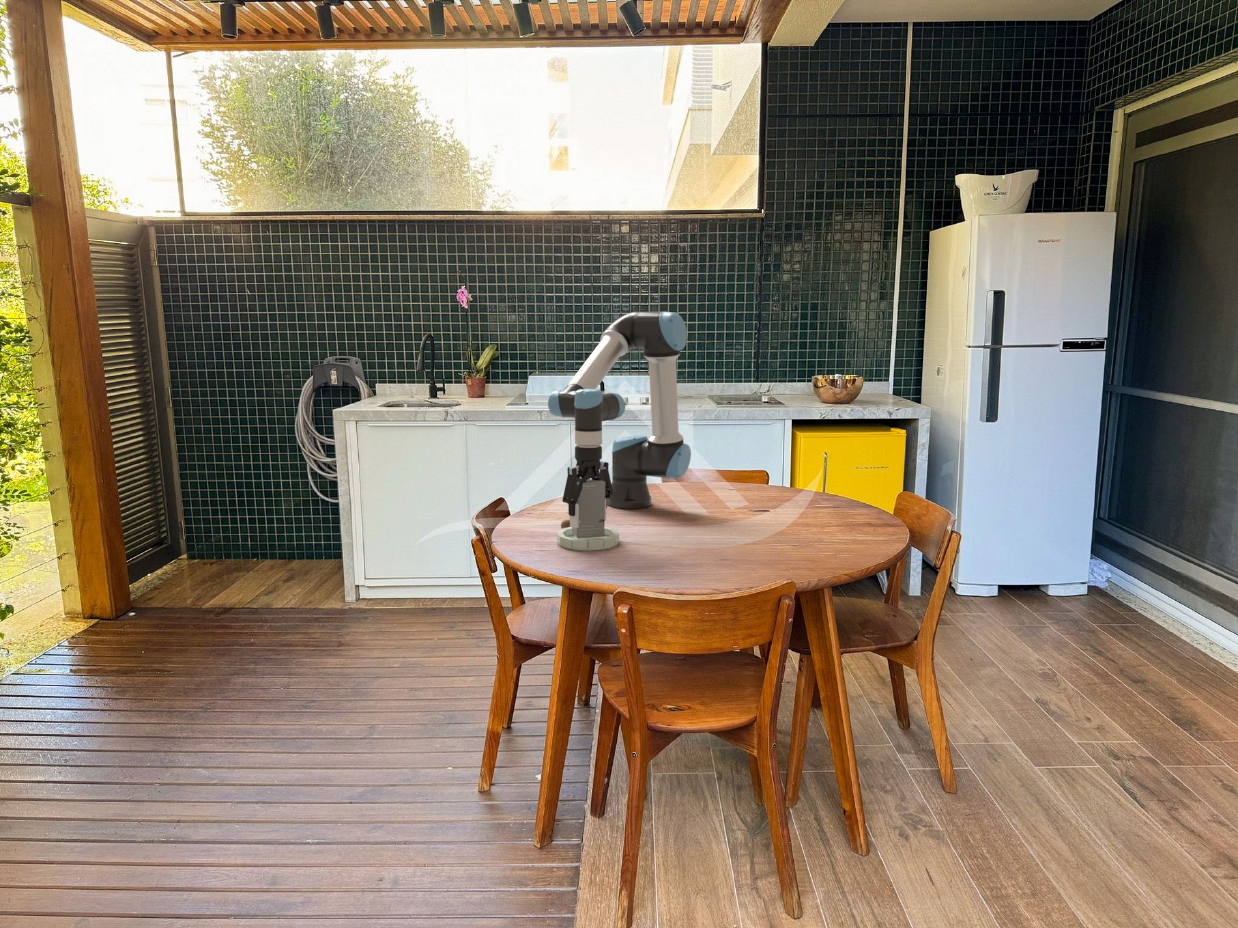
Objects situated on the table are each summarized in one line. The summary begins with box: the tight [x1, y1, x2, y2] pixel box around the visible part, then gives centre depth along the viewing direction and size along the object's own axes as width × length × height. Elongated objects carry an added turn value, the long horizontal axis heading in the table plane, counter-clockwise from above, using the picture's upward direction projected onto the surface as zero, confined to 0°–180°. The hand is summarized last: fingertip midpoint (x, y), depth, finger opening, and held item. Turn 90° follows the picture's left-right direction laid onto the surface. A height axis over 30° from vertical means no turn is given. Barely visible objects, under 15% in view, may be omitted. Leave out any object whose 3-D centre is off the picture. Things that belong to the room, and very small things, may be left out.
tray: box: [556, 526, 620, 552], centre depth 234 cm, size 17×17×3 cm
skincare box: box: [572, 478, 606, 539], centre depth 233 cm, size 8×7×16 cm
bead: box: [560, 519, 570, 529], centre depth 246 cm, size 4×4×4 cm
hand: (588, 523), depth 234 cm, fingers closed on skincare box, 10 cm apart
